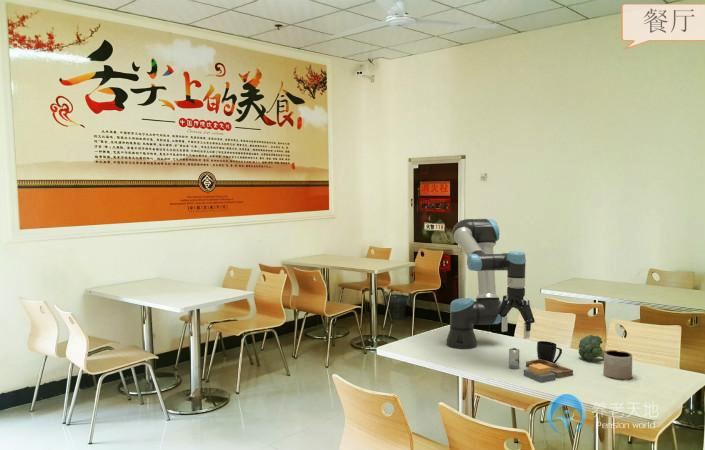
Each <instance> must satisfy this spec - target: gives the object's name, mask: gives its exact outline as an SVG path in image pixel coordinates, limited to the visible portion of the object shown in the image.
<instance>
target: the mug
mask: <svg viewBox="0 0 705 450" xmlns="http://www.w3.org/2000/svg"><path fill="white" fill-rule="evenodd" d="M557 350H558V354H557ZM536 352H537V353H536V354H537V359H542V360H546V361H549V362H552V363H554V364H557V362H558V360H559V359H560V358H561V356H562V353H563V349H562V348H561V347H557V343H555V342H552V341H547V340H539V341H537V344H536ZM556 354H557V356H556Z"/></svg>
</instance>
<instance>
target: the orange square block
mask: <svg viewBox="0 0 705 450" xmlns="http://www.w3.org/2000/svg"><path fill="white" fill-rule="evenodd" d="M528 369H529V371H530V372H533V373H535V374H538V375H543V374H548V373H550V367H549V366H546V365H543V364H540V363H538V364H533V365H529V367H528Z"/></svg>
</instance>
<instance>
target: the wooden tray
mask: <svg viewBox="0 0 705 450" xmlns="http://www.w3.org/2000/svg"><path fill="white" fill-rule="evenodd" d="M538 363H540V364H543V365H546V366H549V367H550V372H552V373H555V374H556V379H561V378H565V377H566V378H567V377H570V376H574V370H573V369H571V368H569V367H565V366H563V365H559V364H557V363H555V364H554V363H552V362H549V361H546V360H542V359H538V358H537V359H533V360H526V361H525V367H527V368H529V365H533V364H538Z"/></svg>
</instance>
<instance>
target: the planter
mask: <svg viewBox="0 0 705 450" xmlns="http://www.w3.org/2000/svg"><path fill="white" fill-rule="evenodd" d="M602 369H603V375H604V376H605V377H607V378H610V379H613V380H619V379H620V380H621V381H622V380H623V381H625V380H626V379H627V380H630V379H631V378H632V377H633V355H632V353H629V352H627V351H622V350H614V349H610V350H606V351H605V352H604V359H603V368H602ZM620 380H619V381H620ZM627 380H626V381H627Z"/></svg>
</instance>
